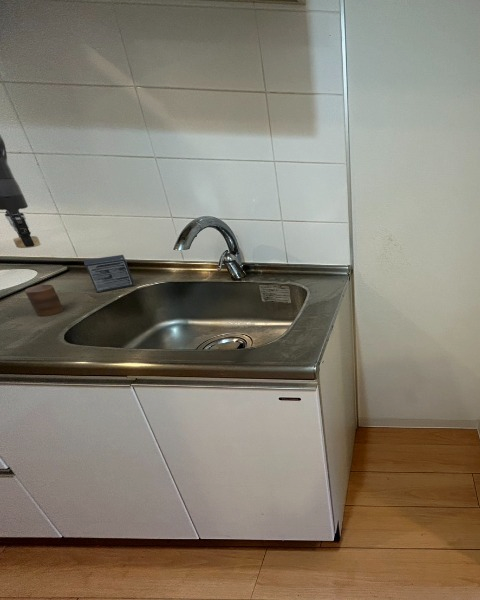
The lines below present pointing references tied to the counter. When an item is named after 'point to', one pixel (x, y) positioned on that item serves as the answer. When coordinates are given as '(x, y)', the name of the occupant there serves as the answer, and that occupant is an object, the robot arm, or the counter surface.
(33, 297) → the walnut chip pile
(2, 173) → the robot arm
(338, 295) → the counter surface
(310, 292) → the counter surface
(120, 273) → the small box
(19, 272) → the counter surface
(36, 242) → the beige short cylinder
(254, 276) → the counter surface
